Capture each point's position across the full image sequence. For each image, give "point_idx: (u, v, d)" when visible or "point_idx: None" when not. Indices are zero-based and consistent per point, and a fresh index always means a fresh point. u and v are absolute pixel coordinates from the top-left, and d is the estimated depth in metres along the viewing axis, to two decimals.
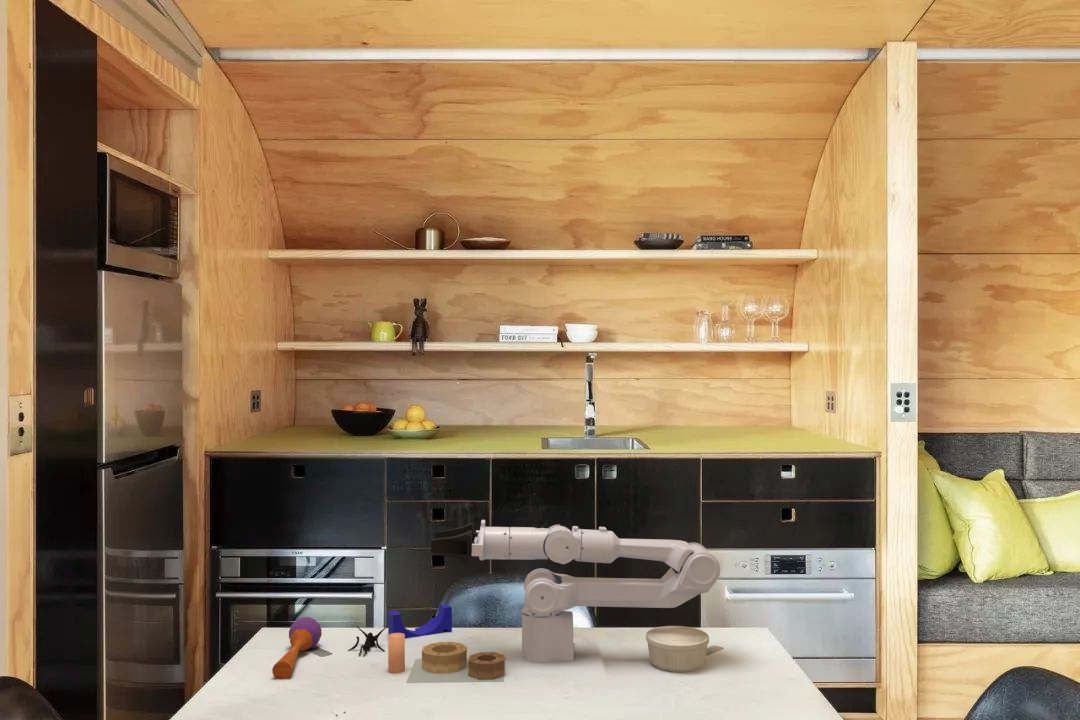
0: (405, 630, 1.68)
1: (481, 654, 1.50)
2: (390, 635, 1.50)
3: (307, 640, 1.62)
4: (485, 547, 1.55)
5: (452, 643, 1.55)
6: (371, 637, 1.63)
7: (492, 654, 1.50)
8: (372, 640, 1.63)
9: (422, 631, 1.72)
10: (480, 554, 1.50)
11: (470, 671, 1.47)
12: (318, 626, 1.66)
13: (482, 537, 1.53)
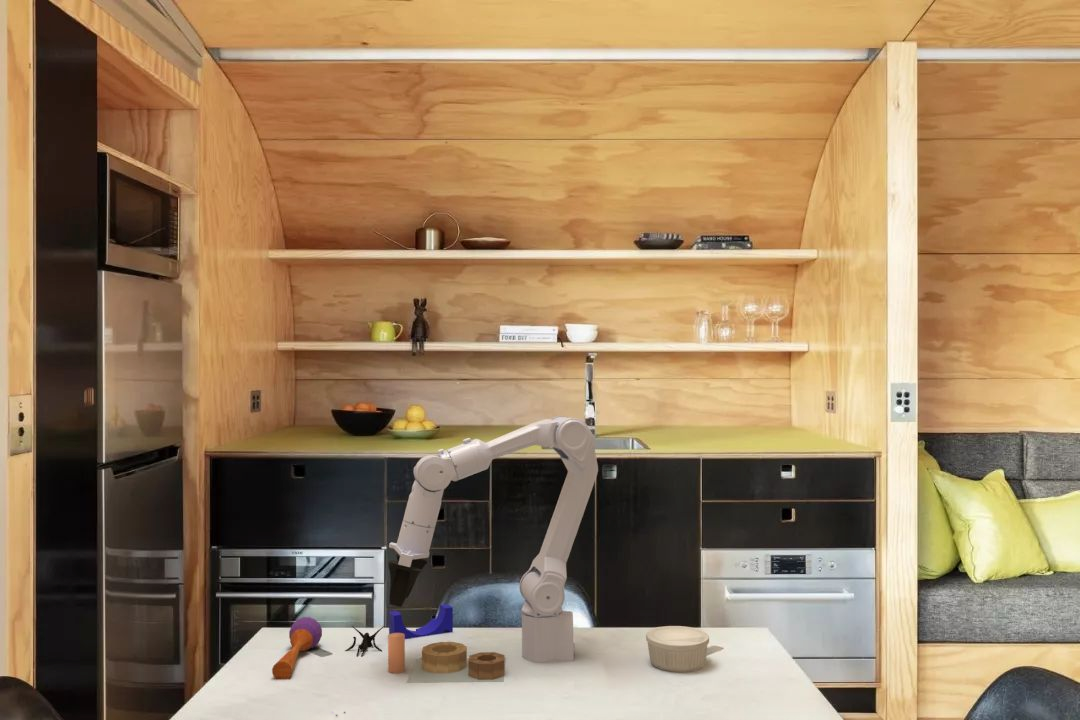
0: (406, 630, 1.68)
1: (481, 654, 1.50)
2: (390, 635, 1.50)
3: (307, 640, 1.61)
4: (412, 549, 1.49)
5: (452, 643, 1.55)
6: (368, 637, 1.63)
7: (492, 654, 1.50)
8: (369, 640, 1.63)
9: (423, 631, 1.71)
10: (410, 558, 1.45)
11: (470, 671, 1.47)
12: (318, 626, 1.66)
13: (399, 550, 1.48)
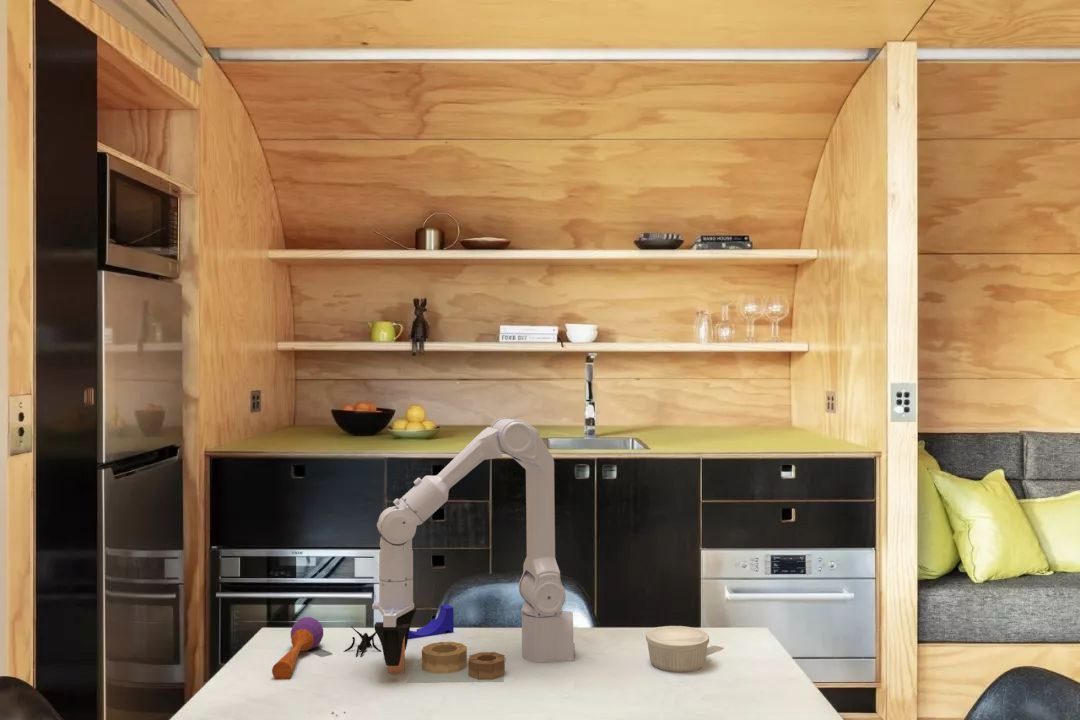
0: None
1: (481, 654, 1.50)
2: None
3: (308, 640, 1.61)
4: (395, 606, 1.47)
5: (452, 643, 1.55)
6: (366, 637, 1.63)
7: (492, 654, 1.50)
8: (367, 640, 1.63)
9: (423, 632, 1.71)
10: (393, 617, 1.43)
11: (470, 671, 1.47)
12: (320, 626, 1.66)
13: (382, 612, 1.46)
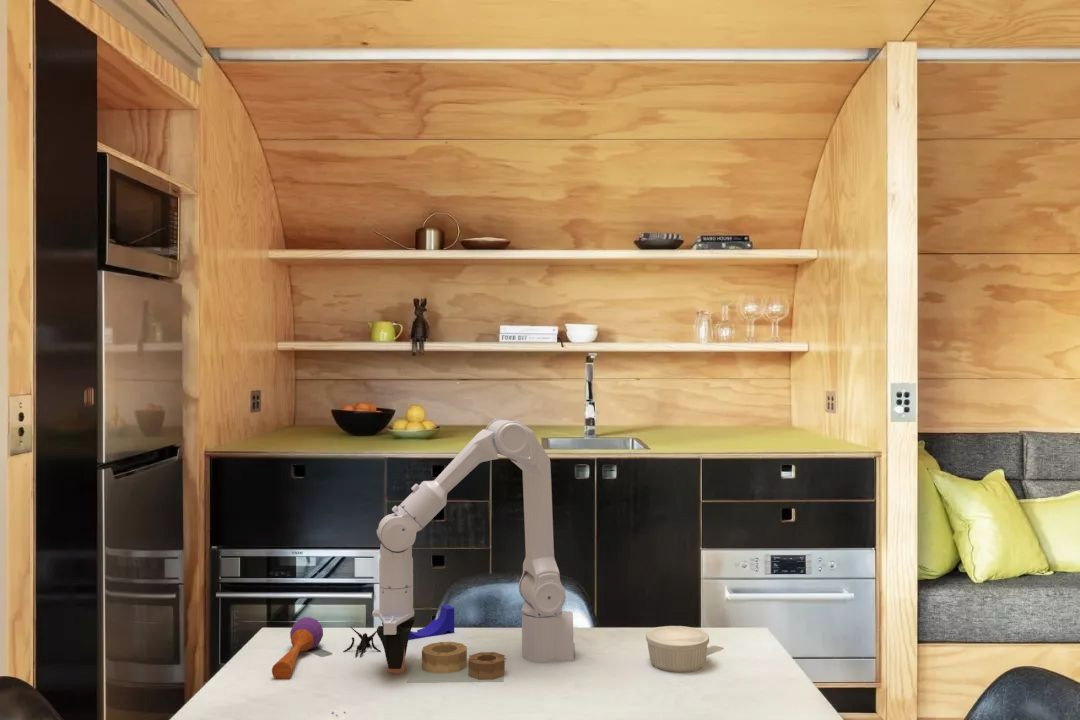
0: None
1: (481, 654, 1.50)
2: None
3: (308, 640, 1.61)
4: (395, 613, 1.47)
5: (452, 643, 1.55)
6: (366, 638, 1.63)
7: (492, 654, 1.50)
8: (367, 641, 1.63)
9: (424, 632, 1.71)
10: (393, 625, 1.43)
11: (470, 671, 1.47)
12: (319, 626, 1.66)
13: (382, 619, 1.46)
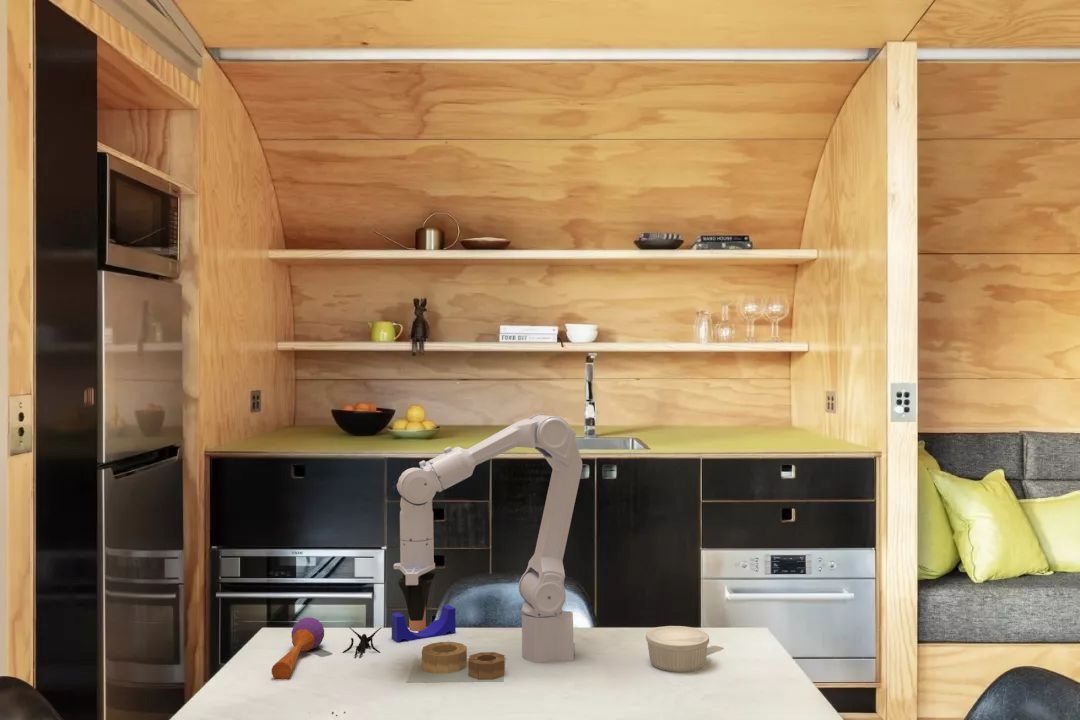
0: (409, 632, 1.67)
1: (481, 654, 1.50)
2: None
3: (309, 641, 1.61)
4: (416, 565, 1.48)
5: (452, 643, 1.55)
6: (365, 638, 1.62)
7: (492, 654, 1.50)
8: (366, 641, 1.62)
9: (425, 633, 1.70)
10: (415, 575, 1.44)
11: (470, 671, 1.47)
12: (321, 627, 1.65)
13: (403, 571, 1.47)
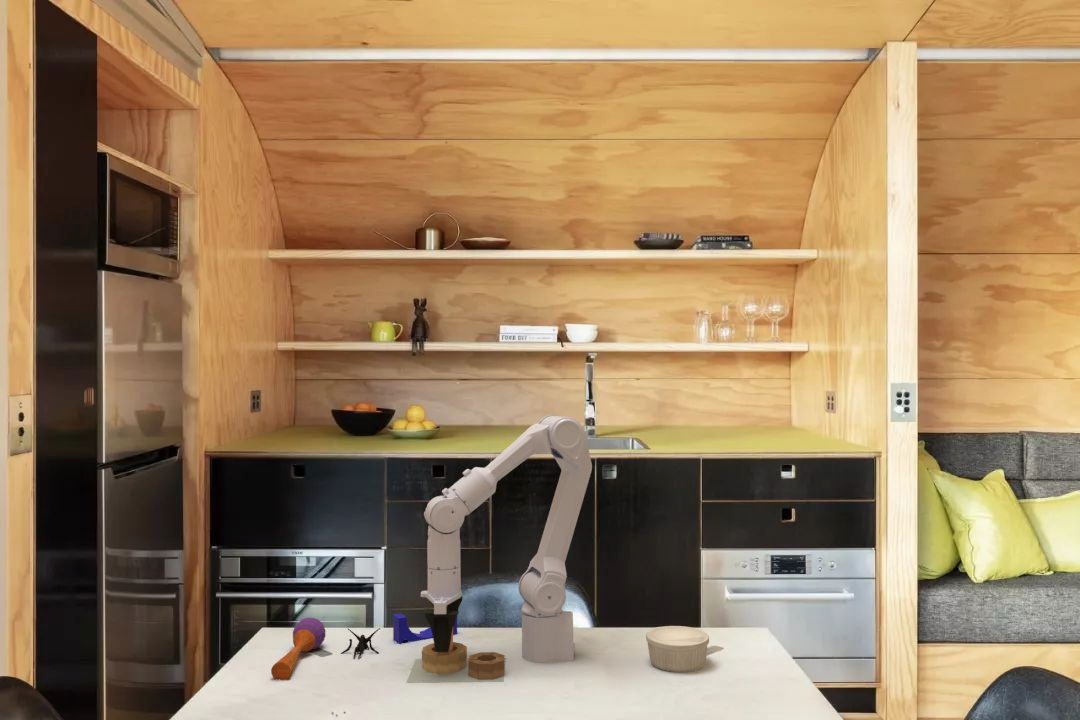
0: (411, 633, 1.66)
1: (481, 654, 1.50)
2: None
3: (310, 641, 1.61)
4: (444, 594, 1.50)
5: None
6: (363, 639, 1.62)
7: (492, 654, 1.50)
8: (364, 642, 1.62)
9: (427, 634, 1.70)
10: (444, 605, 1.45)
11: (470, 671, 1.47)
12: (322, 627, 1.65)
13: (431, 599, 1.48)
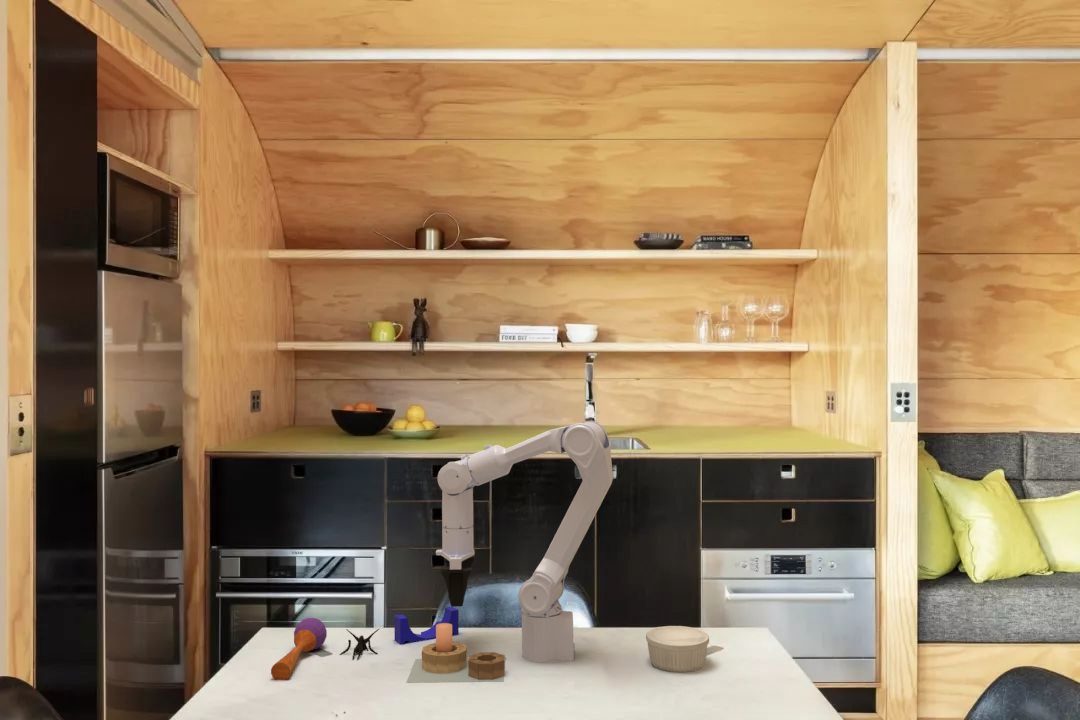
0: (412, 634, 1.66)
1: (481, 654, 1.50)
2: (438, 625, 1.52)
3: (310, 641, 1.61)
4: (458, 552, 1.59)
5: (452, 643, 1.55)
6: (362, 640, 1.61)
7: (492, 654, 1.50)
8: (363, 643, 1.61)
9: (428, 634, 1.69)
10: (459, 560, 1.54)
11: (470, 671, 1.47)
12: (323, 627, 1.65)
13: (447, 556, 1.57)
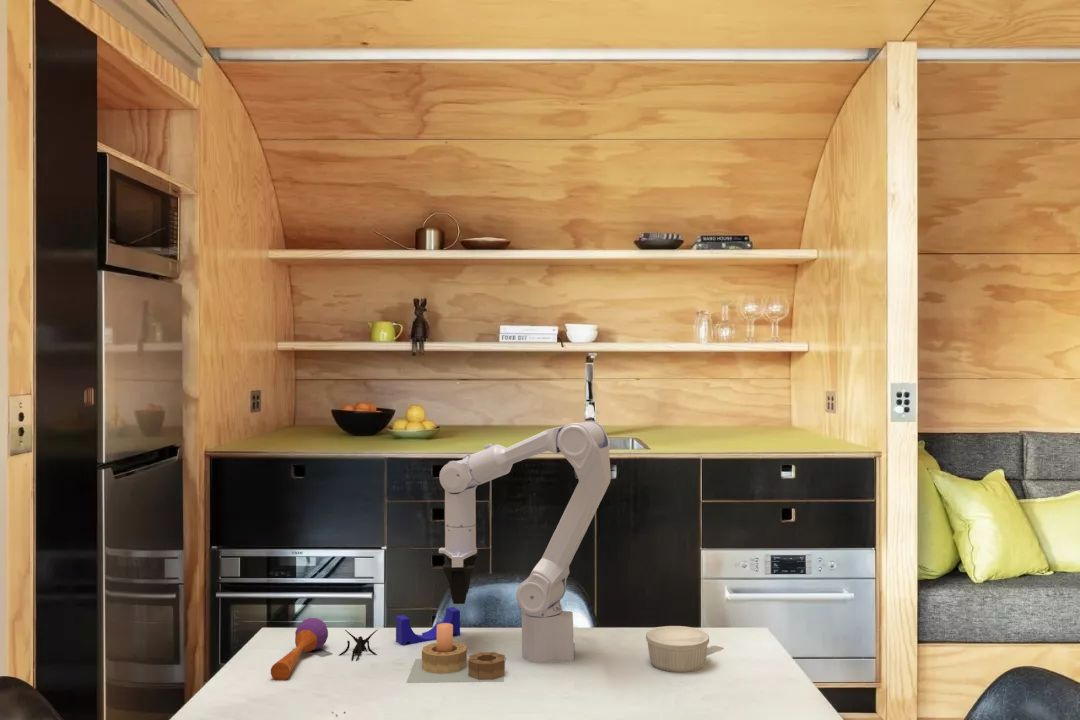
0: (414, 635, 1.65)
1: (481, 654, 1.50)
2: (438, 625, 1.52)
3: (311, 641, 1.61)
4: (460, 550, 1.61)
5: None
6: (361, 641, 1.61)
7: (492, 654, 1.50)
8: (362, 644, 1.61)
9: (430, 635, 1.69)
10: (461, 558, 1.56)
11: (470, 671, 1.47)
12: (324, 627, 1.65)
13: (449, 554, 1.59)
